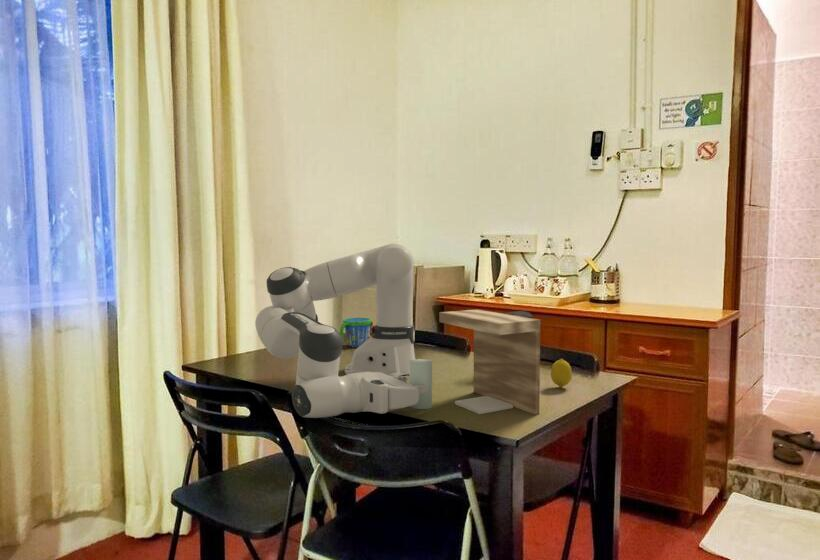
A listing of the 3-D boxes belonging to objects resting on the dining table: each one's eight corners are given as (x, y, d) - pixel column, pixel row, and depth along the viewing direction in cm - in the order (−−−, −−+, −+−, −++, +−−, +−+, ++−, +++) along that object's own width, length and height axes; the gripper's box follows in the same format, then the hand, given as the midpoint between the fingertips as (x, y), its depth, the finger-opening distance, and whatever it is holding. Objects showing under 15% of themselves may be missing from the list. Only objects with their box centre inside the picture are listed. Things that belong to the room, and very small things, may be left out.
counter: (498, 422, 135) (499, 323, 134) (439, 397, 156) (439, 312, 155) (539, 413, 141) (540, 319, 140) (477, 391, 162) (477, 309, 161)
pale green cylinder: (408, 409, 146) (408, 363, 145) (410, 402, 152) (410, 359, 151) (431, 409, 146) (431, 363, 145) (432, 403, 151) (432, 359, 150)
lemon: (567, 391, 162) (568, 361, 161) (547, 388, 165) (548, 359, 164) (574, 387, 167) (574, 358, 166) (554, 384, 170) (554, 356, 169)
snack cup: (347, 350, 222) (347, 322, 221) (332, 346, 230) (331, 319, 229) (382, 345, 231) (382, 318, 231) (366, 341, 240) (366, 316, 239)
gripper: (345, 394, 149) (394, 387, 156) (384, 415, 132) (438, 406, 139) (345, 369, 149) (394, 363, 156) (384, 387, 131) (438, 379, 138)
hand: (415, 383), depth 147 cm, fingers open, 8 cm apart
